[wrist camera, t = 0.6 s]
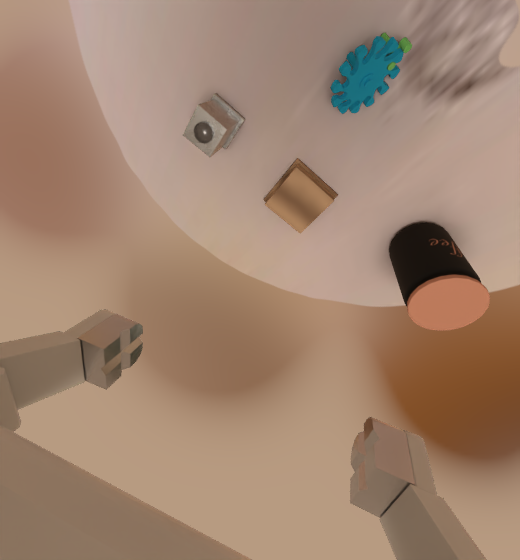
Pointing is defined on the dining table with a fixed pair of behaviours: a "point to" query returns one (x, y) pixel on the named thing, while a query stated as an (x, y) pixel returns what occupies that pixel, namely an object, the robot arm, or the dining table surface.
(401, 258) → the coffee jar
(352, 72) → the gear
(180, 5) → the dining table surface
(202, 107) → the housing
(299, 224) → the stand
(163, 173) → the dining table surface
